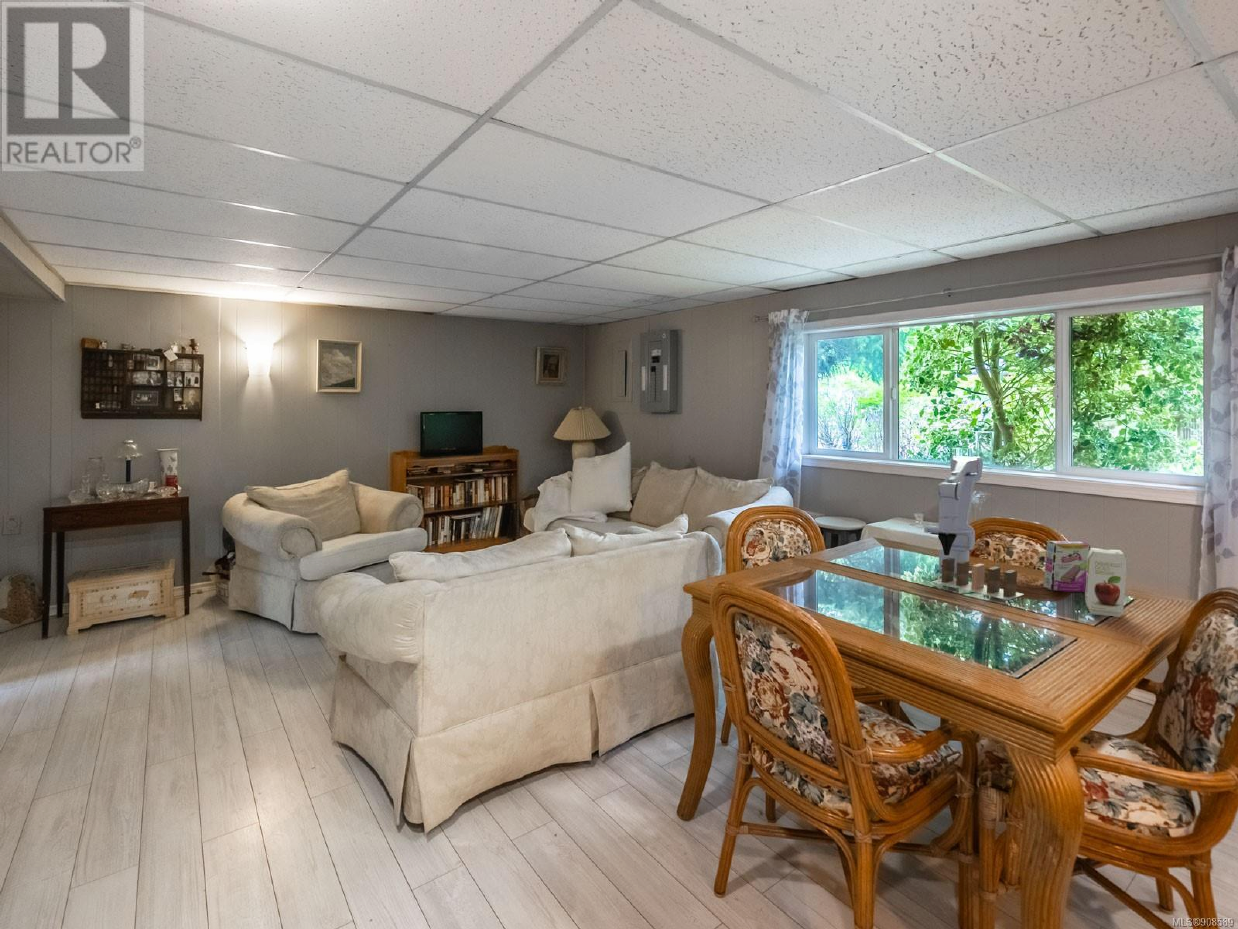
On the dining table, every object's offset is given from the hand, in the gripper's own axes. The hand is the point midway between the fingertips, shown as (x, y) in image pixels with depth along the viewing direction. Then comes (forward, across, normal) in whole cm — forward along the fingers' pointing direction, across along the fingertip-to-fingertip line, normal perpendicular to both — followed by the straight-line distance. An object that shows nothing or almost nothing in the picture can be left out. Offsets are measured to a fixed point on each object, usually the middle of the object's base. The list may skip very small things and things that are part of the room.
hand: (946, 554), depth 211 cm
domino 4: (+9, +15, -5) cm, 18 cm away
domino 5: (+9, +20, -7) cm, 23 cm away
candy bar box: (+10, +34, +13) cm, 37 cm away
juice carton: (+10, +43, -8) cm, 45 cm away
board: (+10, +10, -3) cm, 14 cm away
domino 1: (+9, +1, 0) cm, 9 cm away
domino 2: (+9, +5, -2) cm, 11 cm away
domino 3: (+9, +10, -4) cm, 14 cm away
